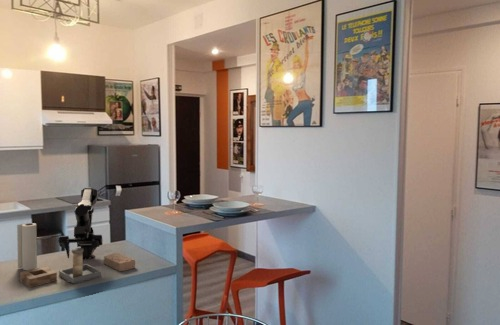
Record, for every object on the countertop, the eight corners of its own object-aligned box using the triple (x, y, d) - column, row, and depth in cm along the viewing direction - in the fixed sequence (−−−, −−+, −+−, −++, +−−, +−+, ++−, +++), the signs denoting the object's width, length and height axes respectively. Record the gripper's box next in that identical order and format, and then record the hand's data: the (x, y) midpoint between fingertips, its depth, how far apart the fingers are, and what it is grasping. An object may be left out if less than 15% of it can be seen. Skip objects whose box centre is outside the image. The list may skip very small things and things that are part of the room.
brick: (102, 264, 201) (102, 254, 201) (118, 260, 208) (118, 251, 207) (120, 273, 190) (120, 263, 190) (136, 268, 197) (136, 259, 196)
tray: (59, 276, 183) (59, 270, 183) (86, 269, 193) (86, 263, 193) (73, 284, 174) (73, 278, 174) (101, 276, 184) (101, 271, 184)
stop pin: (69, 279, 178) (69, 250, 177) (76, 275, 183) (76, 247, 182) (79, 280, 177) (79, 251, 176) (85, 276, 182) (85, 248, 181)
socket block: (19, 280, 177) (19, 272, 176) (45, 273, 185) (45, 266, 185) (30, 287, 170) (30, 279, 169) (56, 280, 178) (56, 272, 178)
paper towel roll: (39, 267, 192) (39, 223, 191) (28, 271, 187) (27, 226, 185) (29, 265, 195) (29, 221, 194) (17, 268, 190) (17, 224, 188)
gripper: (58, 218, 185) (53, 249, 175) (102, 218, 189) (99, 248, 180) (62, 231, 193) (57, 261, 183) (103, 229, 198) (101, 259, 188)
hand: (79, 257), depth 183 cm, fingers open, 9 cm apart
